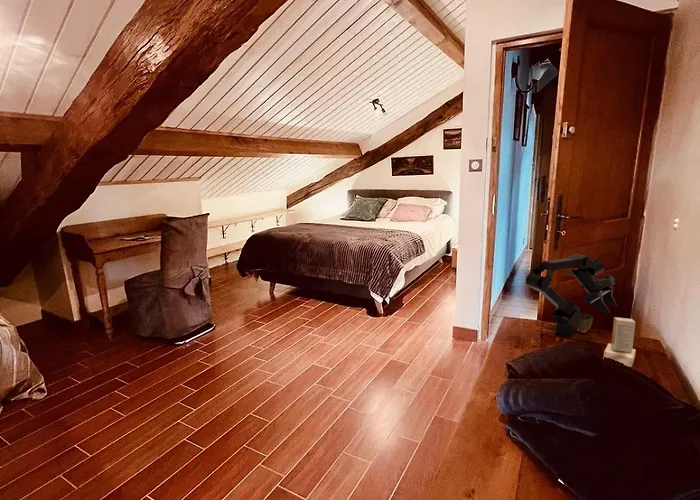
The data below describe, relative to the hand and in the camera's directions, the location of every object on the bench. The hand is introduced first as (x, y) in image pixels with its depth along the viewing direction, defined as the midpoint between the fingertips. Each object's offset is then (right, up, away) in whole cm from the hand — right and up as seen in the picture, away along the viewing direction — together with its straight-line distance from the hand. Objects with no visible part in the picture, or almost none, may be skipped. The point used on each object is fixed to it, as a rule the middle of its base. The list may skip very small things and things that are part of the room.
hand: (612, 310), depth 165 cm
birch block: (-6, -17, -13) cm, 23 cm away
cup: (-6, -12, +11) cm, 18 cm away
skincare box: (-6, -13, -14) cm, 20 cm away
